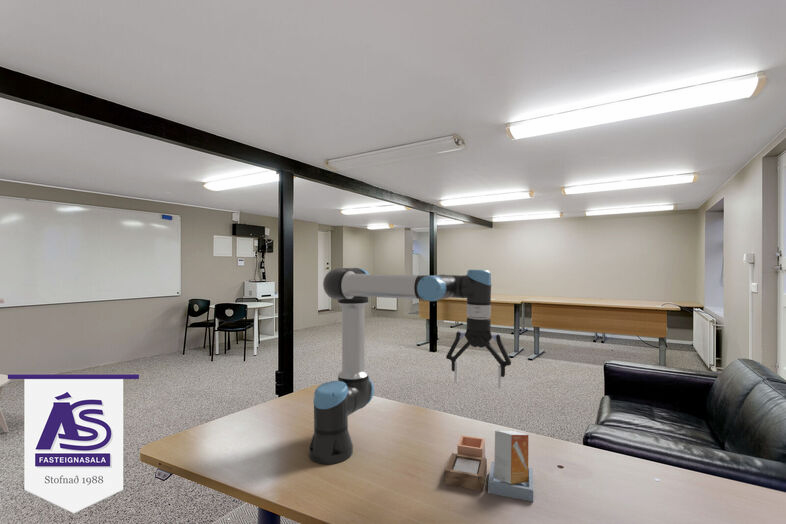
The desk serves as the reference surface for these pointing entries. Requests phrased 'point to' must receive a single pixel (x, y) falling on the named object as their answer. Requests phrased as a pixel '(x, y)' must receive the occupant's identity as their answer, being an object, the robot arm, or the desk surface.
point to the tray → (511, 487)
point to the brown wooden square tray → (466, 473)
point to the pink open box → (471, 446)
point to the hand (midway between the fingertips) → (477, 384)
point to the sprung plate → (467, 466)
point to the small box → (511, 457)
